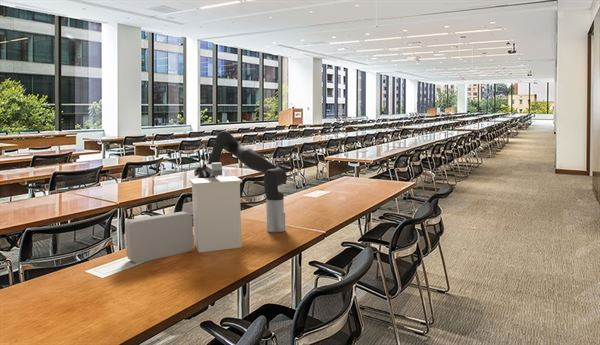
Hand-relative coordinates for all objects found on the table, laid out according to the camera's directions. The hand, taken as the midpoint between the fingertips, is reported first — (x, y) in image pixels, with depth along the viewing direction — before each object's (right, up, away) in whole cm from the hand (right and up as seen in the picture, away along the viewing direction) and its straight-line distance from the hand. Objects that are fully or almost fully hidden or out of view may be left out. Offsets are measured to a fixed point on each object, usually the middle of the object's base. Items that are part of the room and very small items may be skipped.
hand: (210, 165), depth 221 cm
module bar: (+3, -3, -6) cm, 8 cm away
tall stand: (+5, -39, -6) cm, 39 cm away
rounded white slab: (-18, -41, -20) cm, 49 cm away
